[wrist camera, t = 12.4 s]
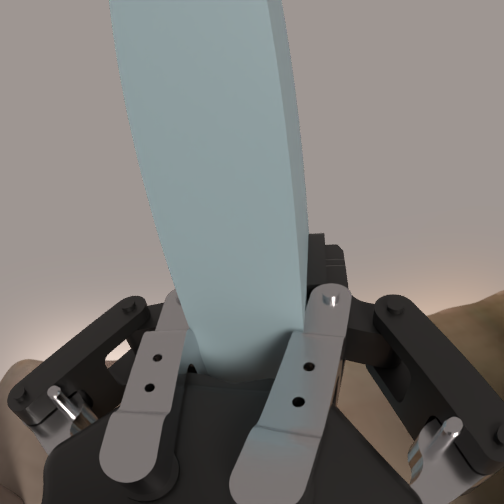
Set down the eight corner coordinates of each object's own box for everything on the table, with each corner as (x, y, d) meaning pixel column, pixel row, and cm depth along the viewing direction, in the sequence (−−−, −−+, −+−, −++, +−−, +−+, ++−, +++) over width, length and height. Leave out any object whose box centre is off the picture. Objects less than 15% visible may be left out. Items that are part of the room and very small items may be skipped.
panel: (261, 492, 16) (105, -50, 3) (273, 422, 21) (197, -3, 8) (306, 494, 16) (247, -96, 3) (312, 423, 21) (278, -18, 8)
